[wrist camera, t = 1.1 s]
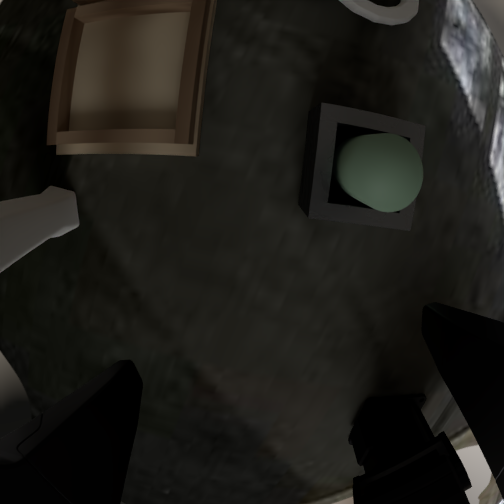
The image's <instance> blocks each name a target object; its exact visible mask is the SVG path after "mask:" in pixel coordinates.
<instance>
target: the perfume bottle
mask: <svg viewBox="0 0 504 504" xmlns="http://www.w3.org/2000/svg"><path fill="white" fill-rule="evenodd" d="M78 226H79V218H78V210H77V202H76V195H75V193H74V192H73V191H70V190H66V189H62V188H58V187H54V186H49V187H48V188H47V189H46V190H45V191H43V192H42V193H41V194H38V195H33V196H27V197H22V198H16V199H11V200H6V201H1V202H0V272H2V271H3V270H5V269H6V268H7V267H9V266H10V265H11V264H13V263H14V262H15V261H17V260H18V259H20V258H21V257H23V256H24V255H25V254H27V253H28V252H30V251H31V250H33V249H34V248H35V247H37V246H38V245H40V244H41V243H43V242H44V241H46V240H47V239H49V238H50V237H59V236H61V235H63V234H65V233H67V232H69V231H71V230H73V229H75V228H77V227H78Z"/></svg>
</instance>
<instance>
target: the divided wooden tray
mask: <svg viewBox="0 0 504 504" xmlns="http://www.w3.org/2000/svg"><path fill="white" fill-rule="evenodd" d="M72 1H74V2H75V3H77V4H78V7H76V8H72V9H68V10H67V12H66V16H65V20H64V24H63V28H62V33H61V37H60V42H59V47H58V52H57V58H56V63H55V69H54V76H53V83H52V90H51V98H50V107H49V118H48V131H47V145H57V148H56V155H62V154H158V155H182V156H199V145H200V134H201V123H202V113H203V103H204V94H205V85H206V76H207V68H208V60H209V53H210V45H211V38H212V31H213V24H214V17H215V11H216V4H217V0H72Z"/></svg>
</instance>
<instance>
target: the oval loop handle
mask: <svg viewBox="0 0 504 504" xmlns="http://www.w3.org/2000/svg"><path fill="white" fill-rule="evenodd" d="M339 1H340V2H341V3H343V4H344V5H345V6H346V7H347V8H349V9H350V10H351V11H352V12H354V13H356V14H358V15H360V16H363V17H365V18H367V19H369V20H371V21H373V22H376V23H381V24H387V25H396V24H402V23H407V22H408V21H410V20H411V19H412V18H413V17H414V16H415V15H416V14H417V13H418V5H419V0H401V2H400V4H398V5H397V6H394V7H384V6H379V5H376V4H374V3H372V2H370V1H368V0H339Z"/></svg>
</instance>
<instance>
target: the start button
mask: <svg viewBox="0 0 504 504" xmlns="http://www.w3.org/2000/svg"><path fill="white" fill-rule="evenodd" d="M332 174H333V177H334V180H335V182H336V184H337V185H338V187H339V188H340V189H341V190H342V191H343V192H345V193H346V194H347V195H349V196H351V197H353V198H355V199H357V200H359V201H361V202H362V203H364V204H366V205H368V206H370V207H372V208H373V209H376V210H378V211H382V212H395V211H399V210H401V209H403V208H405V207H407V206H408V205H409V204H410V203H411V202H413V200H414V199H415V198H416V196H417V195H418V193H419V191H420V188H421V185H422V181H423V166H422V161H421V158H420V156H419V154H418V152H417V150H416V149H415V147H414V146H413V145H412V144H411V143H410V142H409V141H408V140H406V139H405V138H403V137H401V136H399V135H396V134H391V133H381V134H370V135H359V136H353V137H350V138H348V139H346V140H345V141H343V142H342V143H341V144H340V145H339V146H338V147H337V149H336V151H335V153H334V157H333V166H332Z"/></svg>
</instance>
